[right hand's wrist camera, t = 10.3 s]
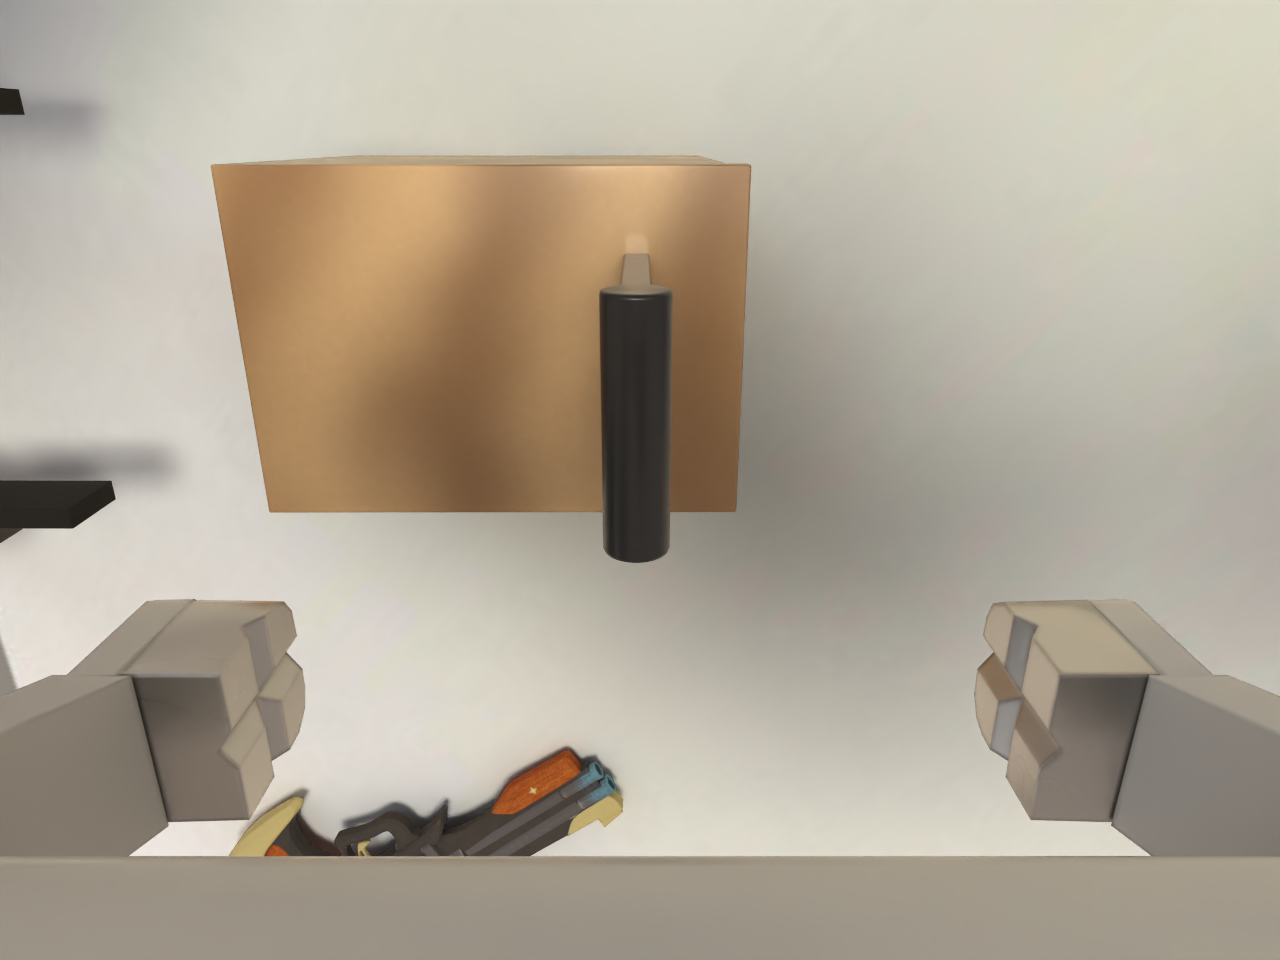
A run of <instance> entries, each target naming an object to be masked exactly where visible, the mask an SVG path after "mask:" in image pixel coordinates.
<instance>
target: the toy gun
mask: <svg viewBox="0 0 1280 960" xmlns="http://www.w3.org/2000/svg"><path fill="white" fill-rule="evenodd" d="M302 805H303V799H302V798H299V797H293V798H291V799H289V800H287V801H285V802H283V803H282V804H280V805H279V806H277V807H275V808H274V809H272V810H271V811H269V812H267V813H266V814H264V815H263V816H262V817H260V818H259V819H258V820H257V821H255V822H254V823H253V824H252V825H251V826H250V827H249V828H248V830H247V831H246V832H245V833H244V835H243V836H242V837H241V839H240V840H239V842H238V843H237V844H236V846H235V847H234V849H233V850H232V851H231V853H230V855H229V856H333V855H331V854H329V853H327V852H325V851H323V850H321V849H319V848H318V847H316V846H314V845H313V844H311V843H310V842H309V841H308V839H307V838H306V836H305V835H304V834H303V832H302V831H301V829H300V827H299V825H298V823H297V819H296V814H297V812H298V811H299V810H300V808H301V807H302ZM622 808H623V799H622V797H621V796H620V795H619V793H618V792H617V791H616V785H615V783H614V780H613V779H612V777H611V776H610V775H608V774H605V775H603V770H602V768H601V766H600V765H599V764H598V763H597V762H596V761H594V762H592V763H591V764H590V763H589V761H588V762H586V763H584V764H581V763H580V762H579V761H578V759H577V758H576V757H575V756H574V754H573V753H571V752H570V751H568V750H565V751H563V752H562V753H560V754H558V755H556V756H554V757H552V758H551V759H549V760H547V761H545V762H543V763H542V764H540V765H538V766H536V767H535V768H533V769H531V770H529V771H528V772H526V773H524V774H523V775H521V776H519V777H517V778H516V779H514V780H512V781H511V782H510V783H509V784H508V785H507V786H506V788H505V789H504V791H503V792H502V794H501V795H500V796H499V798H498V799H497V801H496V802H495V804H494V806H493V807H492V808H490V809H489V810H487V811H485V812H484V813H482V814H480V815H479V816H477V817H475V818H474V819H472V820H470V821H468V822H466V823H464V824H461V825H458V826H456V827H452V828H447V829H444V827H445V824H446V820H447V806H446V805H445V806H443V807H442V809H441V810H440V811H439V813H438V814H437V815H436V816H435V817H434V818H433V819H432V820H431V821H430V822H429V823H428V824H427V825H425V826H424V827H423V828H422V829H421V828H417V827H415V826H414V825H413V824H412V822H411V821H410V820H409V819H408V818H407V817H406V816H404V815H403V814H400V813H398V812H394V811H390V812H387V813H385V814H383V815H382V816H380V817H379V818H377V819H375V820H373V821H371V822H369V823H366V824H363V825H360V826H357V827H353V828H349V829H345V830H342V831H340V832H339V833H338V835H337V837H336V838H335V840H334V843H335V845H336V846H337V848H338V850H339V851H340V853H341V856H356V855H355V854H354V852H353V851H352V848H351V844H353V843H357V842H359V843H358V856H363V855H362V853H361V851H362V852H363V854H364V856H371V855H370V854H369V852H368V851H367V849H366V846H367V845H368V844H369V843H370V841H371V840H370V838H372V837H375V836H377V835H379V834H380V833H382V832H385V831H389V832H390V833H391V834H392V835H393V836H394V838H395V841H396V845H395V846H393V847H392V848H390V849H388V850H387V851H385V852H383V853H382V854H380V855H379V856H421V855H422V856H531V855H533V854H535V853H536V852H538V851H540V850H542V849H543V848H545V847H547V846H549V845H551V844H552V843H554V842H556V841H558V840H560V839H561V838H563V837H565V836H568V835H570V834H572V833H574V832H576V831H577V830H579V829H581V828H583V827H585V826H586V825H588V824H590V823H592V822H594V821H595V820H597V819H598V820H599V821H600V822H601V823H602V824H603V826H604V827H605V826H606V825H608V824H609V823H610V822H611V821H612V820H614V819H615V818H616V817H617V816H618V815H620V814H621V813H622V812H623V810H622ZM423 854H425V855H423Z"/></svg>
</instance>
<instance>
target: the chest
mask: <svg viewBox="0 0 1280 960" xmlns="http://www.w3.org/2000/svg"><path fill="white" fill-rule="evenodd" d="M231 164H725V163H722V162H718V161H715V160H711V159H708V158H704V157H701V156H343V157H327V158H311V159H295V160H279V161H263V162H247V163H231Z"/></svg>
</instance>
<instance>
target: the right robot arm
mask: <svg viewBox="0 0 1280 960" xmlns="http://www.w3.org/2000/svg"><path fill="white" fill-rule="evenodd" d="M296 636H297V634H296V629H295V624H294V620H293V615H292V610H291V609H290V608H289V607H288V606H287V605H286V604H285V602H280V601H226V600H198V601H197V600H195V599H178V600H154V601H146V602H145V603H144V604H143V605H142V606H141V607H140V608H139V609H138V610H136V611H135V612H134V613H133V614H132V615H131V616H130V617H129V618H128V619H127V620H126V621H125V622H123V623H122V624H121V625H120V626H119V627H118V628H117V629H116V630H115V631H114V632H113V633H112V634H111V635H109V636H108V637H107V638H106V639H105V640H104V641H103V642H102V643H101V644H100V645H99V646H98V647H96V648H95V649H94V650H93V651H92V652H91V653H90V654H89V655H88V656H87V657H86V658H85V659H84V660H82V661H81V662H80V663H79V664H78V665H77V666H76V667H75V668H74V669H73V670H72V671H71V672H69V673H68V674H67V675H52V676H49V677H47V678H44V679H42V680H39V681H37V682H34V683H32V684H30V685H27V686H25V687H22V688H20V689H17V690H15V691H12V692H10V693H8V694H5V695H3V696H0V960H1280V696H1277V695H1275V694H1272V693H1270V692H1267V691H1265V690H1263V689H1260V688H1258V687H1255V686H1253V685H1250V684H1248V683H1246V682H1243V681H1241V680H1238V679H1236V678H1233V677H1231V676H1228V675H1213V674H1212V673H1211V672H1210V671H1208V670H1207V669H1206V668H1205V667H1204V666H1203V665H1202V664H1201V663H1200V662H1199V661H1198V660H1197V659H1196V658H1194V657H1193V656H1192V655H1191V654H1190V653H1189V652H1188V651H1187V650H1186V649H1185V648H1184V647H1183V646H1182V645H1180V644H1179V643H1178V642H1177V641H1176V640H1175V639H1174V638H1173V637H1172V636H1171V635H1170V634H1169V633H1168V632H1166V631H1165V630H1164V629H1163V628H1162V627H1161V626H1160V625H1159V624H1158V623H1157V622H1156V621H1155V620H1154V619H1152V618H1151V617H1150V616H1149V615H1148V614H1147V613H1146V612H1145V611H1144V610H1143V609H1142V608H1141V607H1140V606H1138V605H1137V604H1136V603H1135V602H1132V601H1129V600H1125V599H1109V600H1063V601H1022V602H1000V603H993V604H992V606H991V608H990V610H989V613H988V615H987V617H986V623H985V628H984V634H983V636H984V638H985V639H986V641H987V642H988V644H989V645H990V647H991V649H992V650H993V653H992V654H991V656H990V657H989V658H988V659H987V660H986V661H985V662H984V663H983V664H982V665H981V666H980V667H979V668H978V670H977V678H976V685H975V693H974V695H975V706H976V717H977V720H978V724H979V727H980V730H981V733H982V736H983V737H984V739H985V741H986V743H987V745H988V747H989V748H990V750H992V751H993V752H995V753H997V754H998V755H1000V756H1001V757H1003V758H1005V759H1006V760H1008V766H1007V772H1006V778H1007V780H1008V782H1009V783H1010V785H1011V787H1012V788H1013V790H1014V792H1015V794H1016V795H1017V797H1018V799H1019V800H1020V802H1021V804H1022V806H1023V807H1024V809H1025V811H1026V812H1027V814H1028V816H1029V818H1030V819H1031V820H1055V821H1092V822H1112V824H1111V826H1113V827H1114V828H1115V829H1117V830H1118V831H1119V832H1121V833H1122V834H1123V835H1125V836H1126V837H1127V838H1129V839H1130V840H1131V841H1133V842H1134V843H1135V844H1137V845H1138V846H1139V847H1141V848H1142V849H1143V850H1144V851H1146V852H1147V853H1148V854H1150V855H1151V856H129V855H130V854H132V853H133V852H134V851H136V850H137V849H138V848H140V847H141V846H142V845H144V844H145V843H146V842H148V841H149V840H150V839H152V838H153V837H154V836H156V835H157V834H158V833H160V832H161V831H162V830H164V829H165V828H166V827H168V822H187V821H223V820H249V819H250V818H251V816H252V814H253V813H254V811H255V809H256V807H257V806H258V804H259V802H260V801H261V799H262V797H263V795H264V794H265V792H266V790H267V788H268V787H269V785H270V783H271V782H272V780H273V778H274V772H273V766H272V760H274V759H275V758H277V757H279V756H280V755H282V754H283V753H285V752H287V751H288V750H290V748H291V746H292V745H293V743H294V741H295V739H296V737H297V735H298V733H299V731H300V727H301V723H302V718H303V714H304V710H305V683H304V676H303V670H302V668H301V667H300V666H299V665H298V664H297V663H296V662H295V661H294V660H293V659H292V658H291V657H290V656H289V655H288V653H287V650H288V649H289V647H290V645H291V644H292V642H293V641H294V639H295V638H296Z"/></svg>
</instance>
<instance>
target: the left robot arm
mask: <svg viewBox="0 0 1280 960" xmlns="http://www.w3.org/2000/svg"><path fill="white" fill-rule="evenodd" d="M0 115H25V114H24V110H23V106H22V101H21V97H20V93H19V90H18V89H5V88H0ZM115 499H116V498H115V494H114V490H113V486H112V482H111V481H0V543H1V542H3V541H4V540H6V539H7V538H9V537H11V536H12V535H14V534H15V533H17V532H18V531H20V530H22V528H74V527H76V526H77V525H79V524H80V523H82V522H83V521H85V520H86V519H87V518H89V517H90V516H92V515H93V514H95V513H96V512H98V511H99V510H100V509H102V508H103V507H105V506H106V505H108V504H109V503H111V502H112V501H114V500H115Z"/></svg>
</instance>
